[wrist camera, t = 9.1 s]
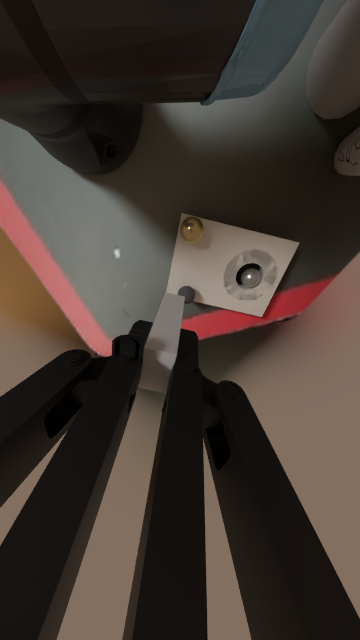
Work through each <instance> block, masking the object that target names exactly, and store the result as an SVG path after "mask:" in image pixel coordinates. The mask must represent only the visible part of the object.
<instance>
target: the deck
mask: <svg viewBox="0 0 360 640" xmlns="http://www.w3.org/2000/svg"><path fill="white" fill-rule="evenodd" d="M188 217H196V216H192V215H188V214H184V213H181V219H180V224H179V229H178V234H177V239H176V245H175V250H174V255H173V260H172V266H171V271H170V276H169V281H168V286H167V293H171V294H176V295H178V291H179V289H180V288H181V287H183V286H190V287H192V288H193V289H194V291H195V298H194V300H193V301H195V302H199V303H204V304H208V305H212V306H217V307H221V308H225V309H229V310H234V311H238V312H242V313H247V314H251V315H255V316H260V317H262V316H263V314H264V312H265V310H266V308H267V306H268V304H269V302H270V300H271V298H272V296H273V294H274V292H275V290H276V288H277V286H278V284H279V282H280V280H281V278H282V276H283V275H284V273H285V271H286V269H287V267H288V265H289V263H290V261H291V259H292V257H293V255H294V253H295V251H296V249H297V247H298V245H299V243H298V242H295V241H291V240H287V239H283V238H279V237H275V236H271V235H267V234H263V233H260V232H256V231H252V230H248V229H244V228H240V227H236V226H232V225H228V224H224V223H220V222H216V221H212V220H208V219H204V218H200V217H196V218H198V219H200V220H201V222H202V223H203V226H204V233H203V236H202V238H201V239H200V240H199V241H198V242H195V243H188V242H186V241H184V240H183V239H182V237H181V235H180V226H181V224H182V222H183V221H184V220H185V219H186V218H188ZM248 263H256V264H258V265H259V268H260V275H261V279H260V282H259V283H258V284H257V285H256V286H254V287H246V286H244V285H241V284H238V283H237V282H236V274H237V272H238V270H239V269H240V268H241V267H242V266H244V265H245V264H248Z"/></svg>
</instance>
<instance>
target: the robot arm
mask: <svg viewBox="0 0 360 640" xmlns="http://www.w3.org/2000/svg"><path fill="white" fill-rule="evenodd" d="M322 2H323V0H0V119H3V120H5V121H7V122H9V123H11V124H13V125H15V126H18V127H20V128H22V129H24V130H27V131H28V132H29V133H30V134H31V135H32V136H33V137H34V138H35V139H36V140H37V141H38V142H39V143H40V144H41V145H42V146H43V147H44V149H45V150H46V151H47V152H48V153H50V154H51V155H52V156H53V157H54V158H56V159H57V160H58V161H60V162H61V163H63V164H64V165H66V166H68V167H70V168H72V169H75V170H78V171H80V172H83V173H87V174H95V175H98V174H105V173H108V172H111V171H113V170H115V169H116V168H118V167H119V166H121V165H122V164H123V163H124V162H125V161H126V159H127V158H128V157H129V155H130V154H131V152H132V150H133V148H134V146H135V144H136V142H137V139H138V136H139V132H140V127H141V121H142V103H182V102H200V103H201V105H210V104H212V103H213V102H214V101H215V100H222V99H231V98H241V97H250V96H253V95H256V94H258V93H260V92H261V91H263V90H264V89H265V88H266V87H267V86H268V85H269V84H270V83H271V82H272V81H273V80H274V79H275V78H276V77H277V76H278V74H279V73H280V72H281V71H282V70H283V69H284V67H285V66H286V65H287V63H288V62H289V61H290V59H291V58H292V56H293V55H294V53H295V51H296V50H297V48H298V46H299V45H300V43H301V41H302V40H303V38H304V36H305V34H306V33H307V31H308V29H309V27H310V25H311V23H312V22H313V20H314V18H315V16H316V14H317V12H318V10H319V8H320V6H321V4H322ZM184 300H185V297H184V296H180V295H176V294H171V293H167V292H165V295H164V297H163V300H162V302H161V305H160V308H159V310H158V313H157V315H156V318H155V321H154V323H152V322H147V321H143V320H139V321H137V322H136V323H134V325H133V326H132V328H131V330H130V332H129V334H128V335H121V336H118V337H116V338H115V339H114V340H113V341H112V356H108V357H102V358H92V357H91V355H90V353H88V352H87V351H85V350H81V349H76V350H75V349H74V350H70V351H67V352H64V353H62V354H61V355H59V356H58V357H56V358H55V359H54V360H52V361H51V362H49V363H48V364H46V365H45V366H44V367H42V368H41V369H39V370H38V371H36V372H35V373H34V374H32V375H31V376H30V377H28V378H27V379H25V380H24V381H22V382H21V383H20V384H18V385H17V386H15V387H14V388H12V389H11V390H10V391H8V392H7V393H5V394H4V395H2V396H1V397H0V507H1V506H2V505H3V504H4V503H5V502H6V500H7V499H8V498H9V497H10V496H11V495H12V494H13V492H14V491H15V490H16V489H17V488H18V487H19V485H20V484H21V483H22V482H23V481H24V480H25V478H26V477H27V476H28V475H29V474H30V473H31V472H32V470H33V469H34V468H35V467H36V466H37V465H38V464H39V462H40V461H41V460H42V459H43V458H44V457H45V456H46V454H47V453H48V452H49V451H50V450H51V449H52V448H53V446H54V445H55V444H56V443H57V442H58V441H59V439H60V438H61V437H62V436H63V435H64V434H65V433H66V431H67V430H68V431H67V433H66V434H65V436H64V438H63V440H62V441H61V443H60V445H59V447H58V448H57V450H56V452H55V453H54V455H53V457H52V459H51V460H50V462H49V464H48V465H47V467H46V469H45V470H44V472H43V474H42V476H41V477H40V479H39V481H38V482H37V484H36V486H35V487H34V489H33V491H32V493H31V494H30V496H29V498H28V499H27V501H26V503H25V505H24V506H23V508H22V510H21V511H20V513H19V515H18V517H17V518H16V520H15V522H14V524H13V525H12V527H11V529H10V530H9V532H8V534H7V535H6V537H5V539H4V541H3V543H2V544H1V546H0V640H56V639H57V636H58V633H59V630H60V627H61V624H62V621H63V617H64V614H65V611H66V608H67V605H68V602H69V599H70V596H71V593H72V590H73V587H74V584H75V581H76V578H77V575H78V572H79V568H80V565H81V562H82V559H83V556H84V553H85V550H86V547H87V544H88V540H89V538H90V535H91V532H92V529H93V526H94V522H95V520H96V516H97V513H98V510H99V507H100V504H101V501H102V498H103V495H104V492H105V489H106V486H107V483H108V480H109V477H110V474H111V470H112V467H113V464H114V461H115V458H116V455H117V452H118V449H119V446H120V443H121V440H122V437H123V434H124V431H125V428H126V425H127V422H128V418H129V415H130V412H131V409H132V406H133V403H134V400H135V397H136V390H137V387H138V388H143V389H148V390H152V391H158V392H162V393H166V398H165V401H164V405H163V408H162V417H161V423H160V428H159V434H158V440H157V446H156V451H155V457H154V463H153V469H152V474H151V480H150V485H149V491H148V497H147V503H146V508H145V514H144V520H143V525H142V531H141V537H140V543H139V548H138V554H137V559H136V565H135V571H134V577H133V582H132V588H131V594H130V600H129V605H128V611H127V616H126V622H125V628H124V634H123V639H122V640H208V639H207V596H206V595H207V594H206V552H205V511H204V510H205V508H204V464H203V439H204V443H205V447H206V451H207V455H208V459H209V463H210V468H211V472H212V476H213V480H214V484H215V489H216V492H217V497H218V501H219V505H220V509H221V513H222V518H223V522H224V526H225V530H226V534H227V538H228V543H229V547H230V551H231V555H232V559H233V564H234V568H235V571H236V576H237V580H238V584H239V589H240V593H241V597H242V601H243V605H244V609H245V613H246V618H247V622H248V626H249V630H250V634H251V639H252V640H360V618H359V617H358V615H357V613H356V611H355V609H354V607H353V605H352V603H351V601H350V599H349V597H348V595H347V593H346V591H345V589H344V587H343V585H342V583H341V581H340V579H339V577H338V575H337V573H336V571H335V569H334V567H333V565H332V563H331V561H330V559H329V557H328V556H327V553H326V552H325V550H324V548H323V546H322V544H321V542H320V540H319V538H318V536H317V534H316V532H315V530H314V528H313V526H312V524H311V522H310V520H309V518H308V516H307V514H306V512H305V510H304V508H303V506H302V504H301V502H300V500H299V499H298V496H297V494H296V492H295V490H294V488H293V487H292V485H291V483H290V481H289V479H288V477H287V475H286V473H285V471H284V469H283V467H282V465H281V463H280V461H279V459H278V457H277V455H276V453H275V451H274V449H273V447H272V445H271V443H270V441H269V439H268V437H267V435H266V433H265V431H264V430H263V427H262V426H261V424H260V422H259V420H258V418H257V416H256V414H255V412H254V410H253V408H252V406H251V404H250V402H249V400H248V398H247V396H246V394H245V392H244V391H243V389H242V388H241V387H240V386H238V385H237V384H236V383H234V382H232V381H227V380H225V381H221V382H220V383H218V384H217V383H214V382H213V381H211V380H209V379H207V378H206V377H204V376H203V375H202V373H201V371H200V369H199V367H198V336H197V334H196V333H195V332H194V331H190V330H185V329H181V321H182V314H183V307H184ZM138 384H139V385H138Z"/></svg>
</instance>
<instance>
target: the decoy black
mask: <svg viewBox="0 0 360 640" xmlns="http://www.w3.org/2000/svg"><path fill="white" fill-rule="evenodd" d="M178 295H180V296H184V297H185V300H184V303H185V304H188V303H191V302H192V301H193V300H194V298H195V291H194V289H193V288H192V287H190V286H183V287H181V288H180V289H179V291H178Z"/></svg>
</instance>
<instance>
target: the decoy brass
mask: <svg viewBox="0 0 360 640" xmlns="http://www.w3.org/2000/svg"><path fill="white" fill-rule="evenodd" d="M203 233H204V226H203V223H202V222H201V220H200V219H198V218H196V217H188V218H186V219H185V220H184V221H183V222H182V224H181V226H180V235H181V237H182V239H183V240H184V241H186V242H188V243H195V242H198V241H199V240H200V239H201V238H202V236H203Z"/></svg>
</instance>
